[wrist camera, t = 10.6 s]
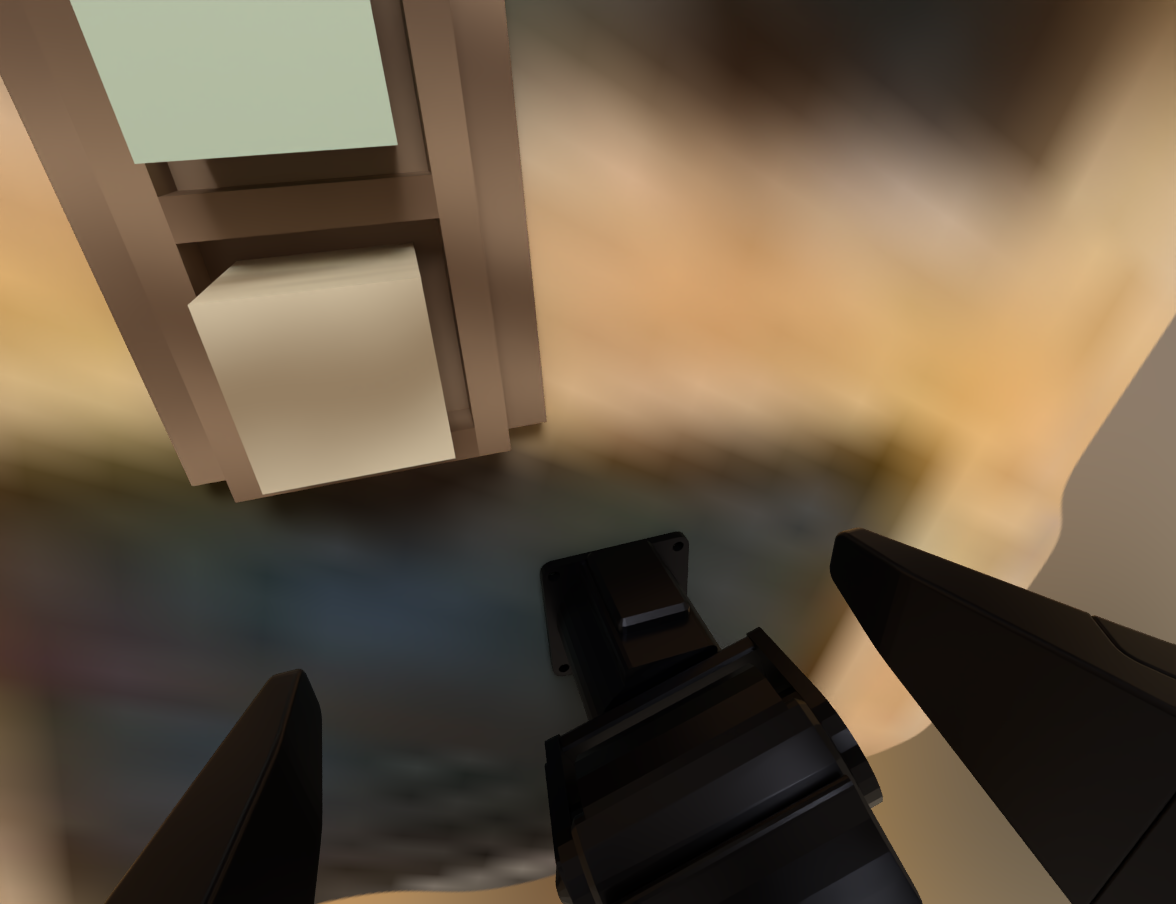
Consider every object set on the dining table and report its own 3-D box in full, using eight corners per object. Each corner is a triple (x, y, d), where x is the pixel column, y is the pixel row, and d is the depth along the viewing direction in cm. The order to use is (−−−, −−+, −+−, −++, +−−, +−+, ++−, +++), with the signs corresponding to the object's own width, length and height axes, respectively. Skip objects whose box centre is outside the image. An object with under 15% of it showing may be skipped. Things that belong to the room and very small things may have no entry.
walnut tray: (540, 410, 21) (557, 441, 19) (201, 470, 19) (177, 513, 16) (418, -750, 10) (427, -979, 8) (-448, -975, 8) (-764, -1391, 6)
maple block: (441, 390, 19) (455, 457, 15) (289, 415, 18) (263, 494, 14) (413, 242, 16) (420, 277, 13) (236, 260, 15) (187, 305, 12)
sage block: (395, 140, 15) (397, 145, 11) (202, 153, 14) (134, 163, 10) (349, -92, 13) (334, -183, 9) (116, -96, 12) (-10, -199, 8)
